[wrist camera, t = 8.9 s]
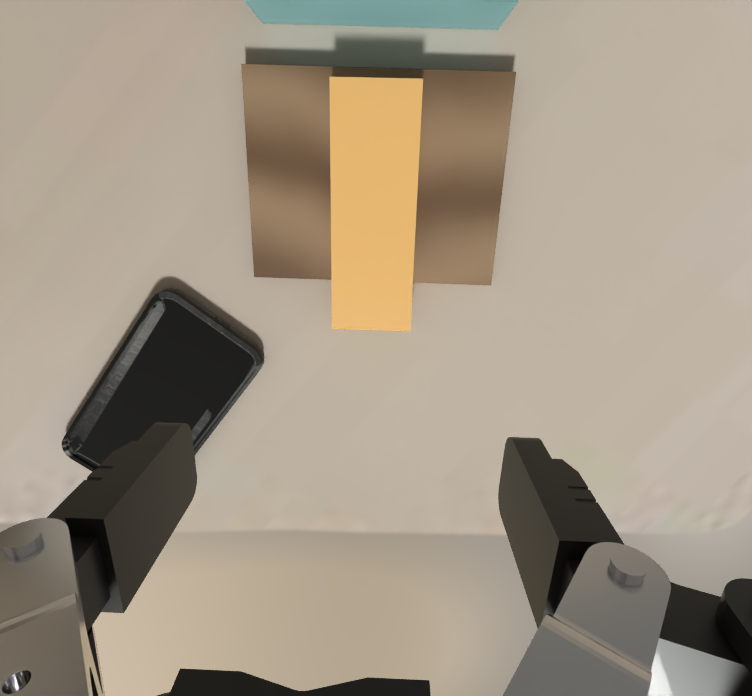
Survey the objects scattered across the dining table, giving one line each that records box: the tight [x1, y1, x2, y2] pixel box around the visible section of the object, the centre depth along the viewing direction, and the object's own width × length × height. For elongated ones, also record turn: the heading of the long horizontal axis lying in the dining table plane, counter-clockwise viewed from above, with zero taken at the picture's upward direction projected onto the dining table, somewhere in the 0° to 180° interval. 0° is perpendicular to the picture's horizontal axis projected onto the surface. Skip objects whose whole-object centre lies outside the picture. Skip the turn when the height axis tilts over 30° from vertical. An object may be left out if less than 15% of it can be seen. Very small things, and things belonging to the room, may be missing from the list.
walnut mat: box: [241, 64, 516, 285], centre depth 26 cm, size 11×14×1 cm
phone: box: [62, 289, 264, 472], centre depth 31 cm, size 8×1×15 cm
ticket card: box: [329, 77, 423, 331], centre depth 26 cm, size 13×5×1 cm, turn 179°
